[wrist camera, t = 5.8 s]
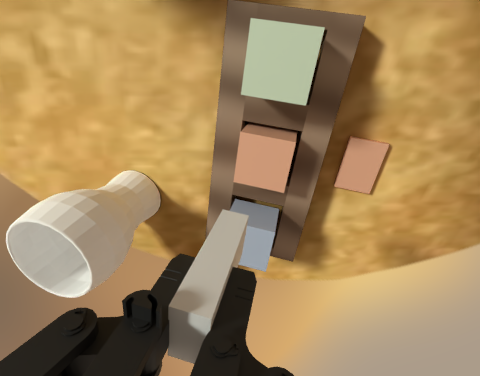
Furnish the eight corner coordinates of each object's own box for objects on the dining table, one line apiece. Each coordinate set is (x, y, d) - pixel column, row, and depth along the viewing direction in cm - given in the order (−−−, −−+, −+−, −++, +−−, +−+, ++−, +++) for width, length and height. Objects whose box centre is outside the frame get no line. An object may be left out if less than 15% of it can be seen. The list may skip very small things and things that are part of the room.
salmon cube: (249, 122, 29) (240, 131, 25) (296, 131, 28) (296, 142, 24) (243, 166, 32) (233, 181, 27) (286, 175, 31) (283, 193, 26)
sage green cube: (260, 27, 23) (250, 17, 19) (320, 35, 23) (324, 27, 18) (251, 90, 26) (240, 94, 21) (305, 99, 25) (305, 105, 21)
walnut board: (235, 6, 26) (227, -1, 23) (359, 21, 24) (366, 16, 21) (212, 227, 38) (205, 239, 35) (293, 247, 36) (292, 261, 33)
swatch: (350, 136, 28) (350, 137, 28) (387, 143, 28) (389, 144, 27) (333, 184, 31) (334, 186, 30) (368, 191, 30) (369, 193, 30)
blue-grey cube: (235, 198, 31) (224, 220, 27) (279, 208, 31) (275, 232, 26) (230, 234, 34) (219, 259, 29) (270, 244, 33) (265, 271, 29)
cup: (177, 179, 36) (103, 245, 22) (161, 235, 40) (92, 316, 27) (109, 148, 36) (-5, 195, 23) (101, 207, 41) (4, 274, 27)
